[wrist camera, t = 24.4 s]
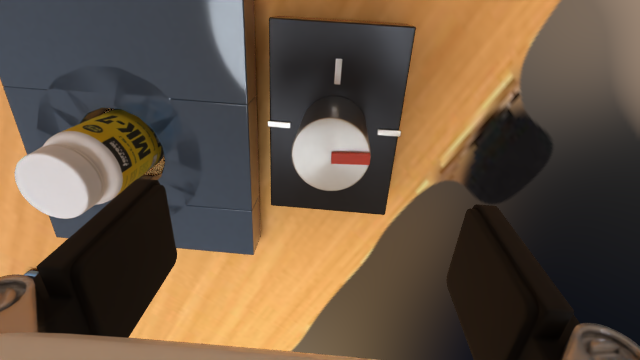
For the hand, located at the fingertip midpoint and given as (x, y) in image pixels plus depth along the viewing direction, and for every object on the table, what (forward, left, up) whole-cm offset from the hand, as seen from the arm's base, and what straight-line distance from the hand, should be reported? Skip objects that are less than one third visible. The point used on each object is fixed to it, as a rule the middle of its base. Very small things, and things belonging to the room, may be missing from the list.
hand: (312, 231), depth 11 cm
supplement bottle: (+3, -14, -15) cm, 21 cm away
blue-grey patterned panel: (+2, -13, -15) cm, 20 cm away
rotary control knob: (0, 0, -12) cm, 12 cm away
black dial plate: (0, 0, -15) cm, 15 cm away
